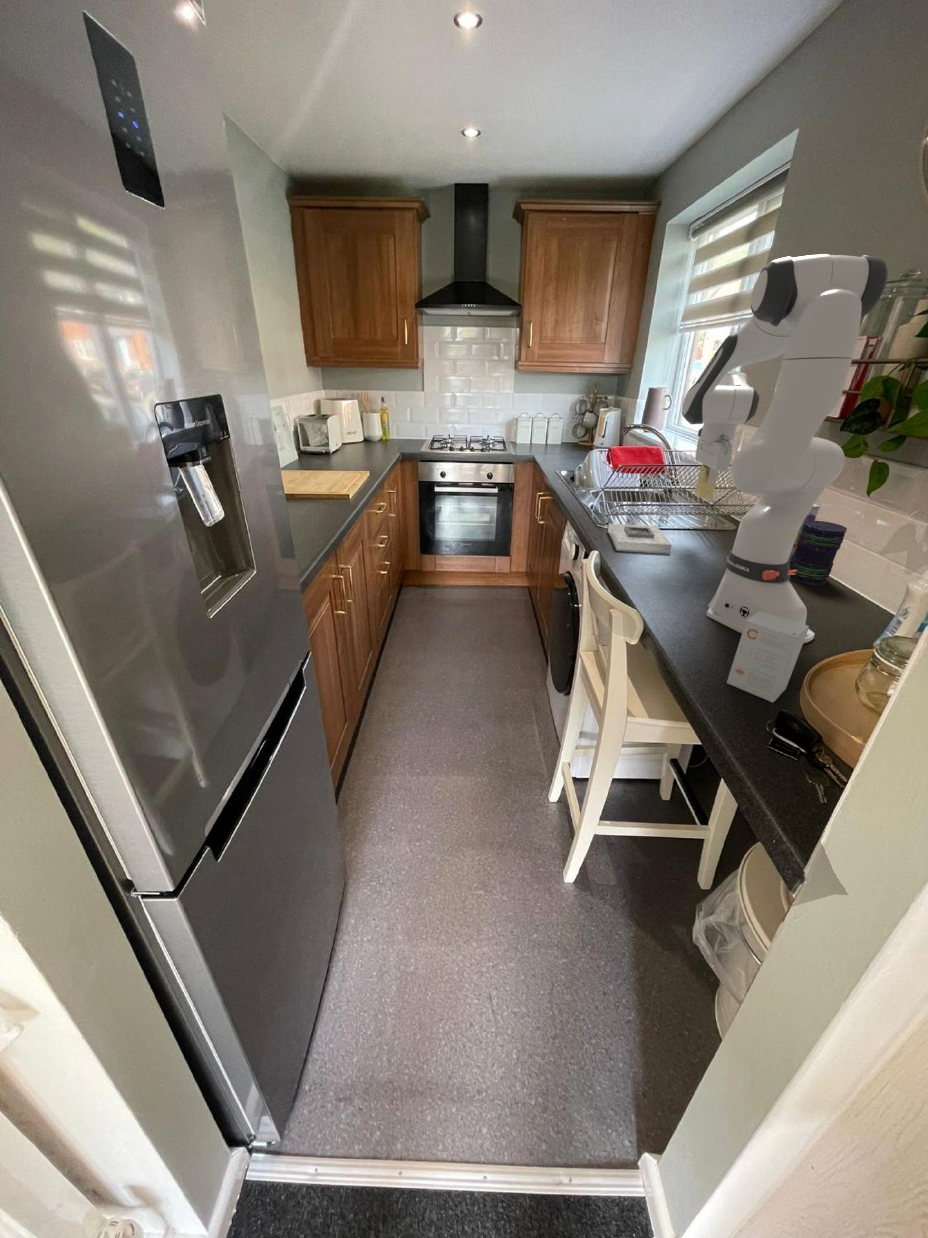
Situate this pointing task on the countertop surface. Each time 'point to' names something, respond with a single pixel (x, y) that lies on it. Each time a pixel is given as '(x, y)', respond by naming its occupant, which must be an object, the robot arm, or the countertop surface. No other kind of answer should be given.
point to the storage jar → (816, 551)
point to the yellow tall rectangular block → (704, 484)
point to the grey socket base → (639, 539)
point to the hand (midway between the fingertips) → (706, 481)
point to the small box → (766, 655)
